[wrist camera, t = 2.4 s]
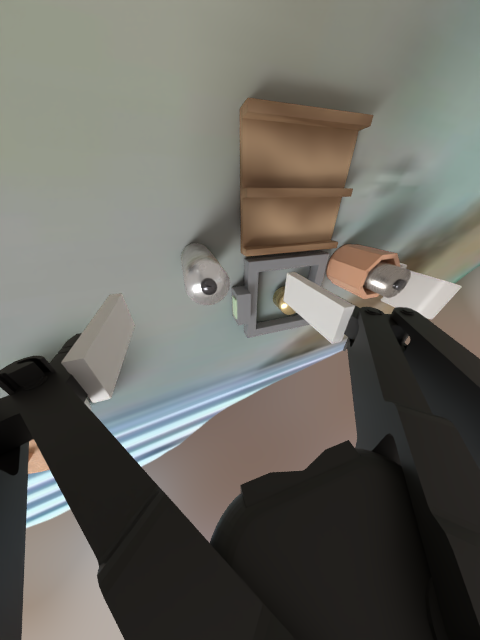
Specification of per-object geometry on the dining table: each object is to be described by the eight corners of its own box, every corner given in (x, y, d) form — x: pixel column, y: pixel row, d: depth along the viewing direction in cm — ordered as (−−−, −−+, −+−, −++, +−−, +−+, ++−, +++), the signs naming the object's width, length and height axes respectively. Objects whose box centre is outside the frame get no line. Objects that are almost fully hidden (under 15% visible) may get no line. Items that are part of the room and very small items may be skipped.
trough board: (239, 108, 17) (247, 97, 15) (355, 122, 20) (373, 115, 19) (240, 252, 24) (246, 256, 23) (325, 244, 28) (336, 247, 26)
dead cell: (338, 253, 29) (398, 272, 21) (357, 251, 30) (421, 268, 22) (331, 277, 31) (383, 301, 23) (349, 274, 32) (405, 297, 24)
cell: (177, 244, 22) (181, 267, 14) (210, 241, 23) (230, 262, 15) (183, 276, 24) (189, 311, 16) (213, 272, 25) (232, 304, 17)
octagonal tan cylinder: (332, 245, 28) (371, 256, 23) (363, 242, 30) (407, 252, 24) (322, 283, 32) (353, 300, 26) (350, 279, 33) (386, 294, 28)
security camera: (361, 291, 36) (414, 317, 28) (383, 257, 33) (450, 275, 25) (380, 295, 39) (433, 319, 31) (402, 263, 36) (468, 281, 28)
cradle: (229, 260, 24) (235, 266, 22) (321, 251, 28) (335, 255, 26) (232, 334, 32) (237, 345, 29) (305, 319, 35) (315, 327, 33)
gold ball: (274, 287, 28) (283, 295, 26) (293, 284, 29) (304, 292, 27) (271, 307, 30) (280, 316, 28) (290, 304, 31) (300, 312, 29)
